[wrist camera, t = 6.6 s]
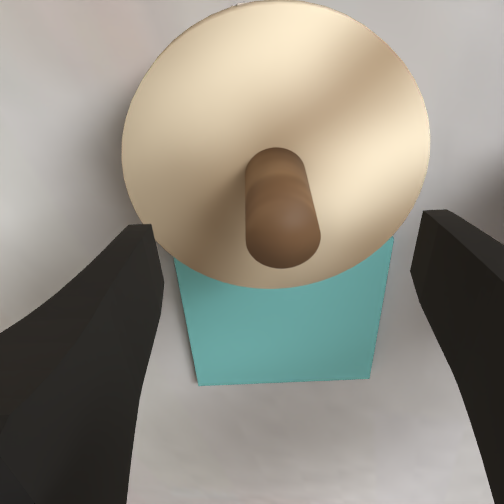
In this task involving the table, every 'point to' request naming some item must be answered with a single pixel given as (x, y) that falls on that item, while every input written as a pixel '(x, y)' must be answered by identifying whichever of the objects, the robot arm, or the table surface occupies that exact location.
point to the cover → (275, 144)
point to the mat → (285, 326)
